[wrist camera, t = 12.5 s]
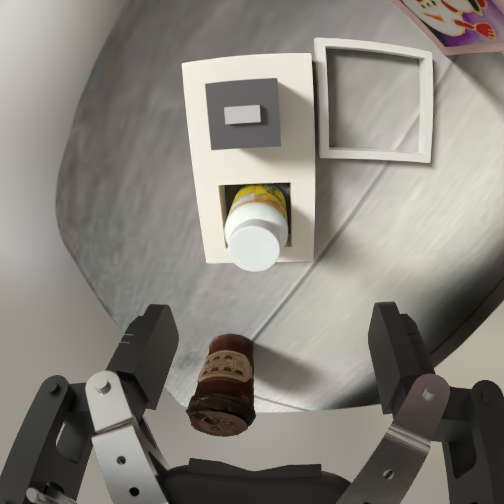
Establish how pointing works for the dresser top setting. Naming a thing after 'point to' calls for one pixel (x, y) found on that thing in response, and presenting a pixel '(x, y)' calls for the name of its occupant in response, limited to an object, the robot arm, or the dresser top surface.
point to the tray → (425, 101)
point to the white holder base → (252, 140)
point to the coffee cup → (225, 388)
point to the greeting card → (459, 23)
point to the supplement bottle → (256, 227)
